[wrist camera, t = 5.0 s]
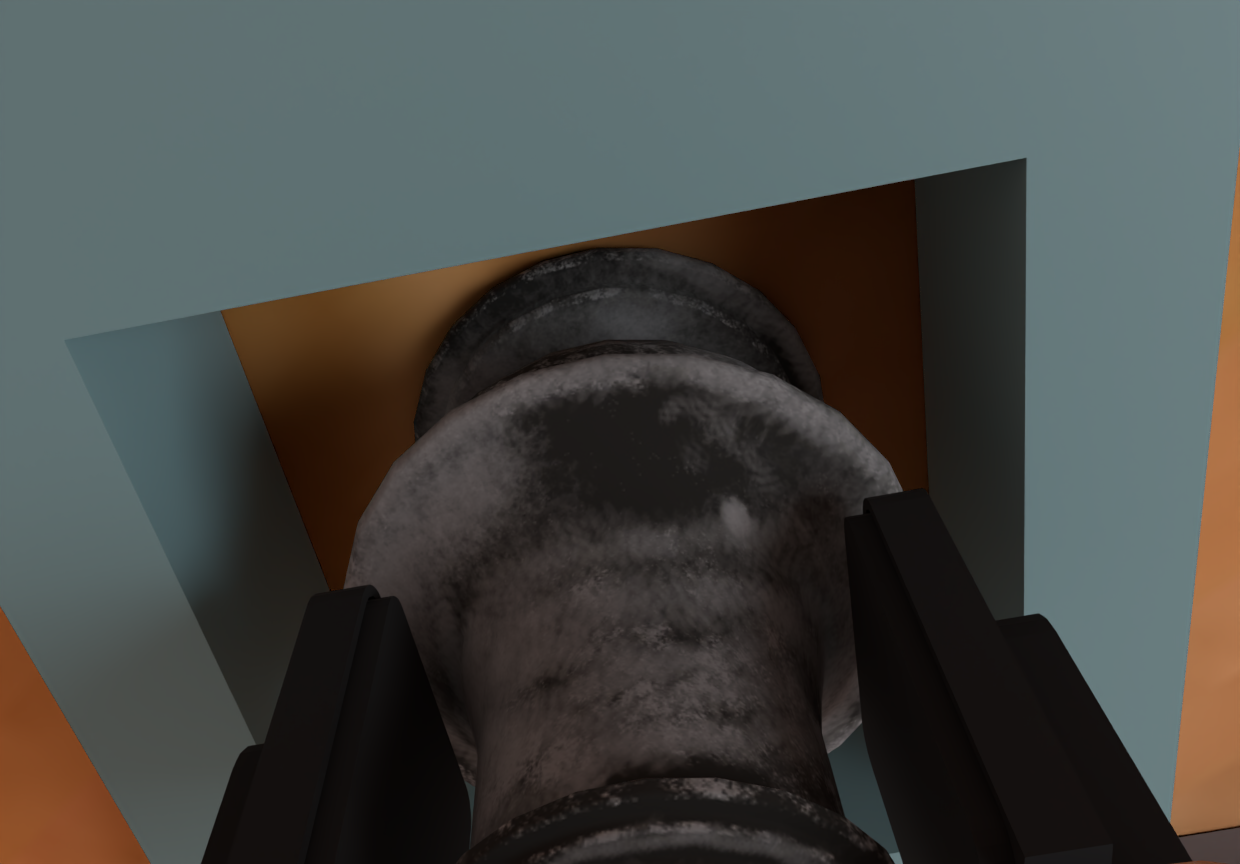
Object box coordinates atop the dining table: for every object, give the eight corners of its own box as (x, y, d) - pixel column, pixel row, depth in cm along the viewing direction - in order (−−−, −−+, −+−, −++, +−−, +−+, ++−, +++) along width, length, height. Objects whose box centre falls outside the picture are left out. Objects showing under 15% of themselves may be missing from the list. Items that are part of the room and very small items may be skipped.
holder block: (-138, -121, 11) (-409, -94, 8) (1081, -377, 10) (1301, -454, 7) (346, 914, 19) (306, 1128, 16) (1051, 798, 18) (1152, 996, 15)
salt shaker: (576, 682, 16) (604, 2246, 6) (291, 403, 14) (-541, 2283, 3) (928, 475, 15) (1807, 2102, 4) (680, 119, 12) (1368, 1971, 2)
